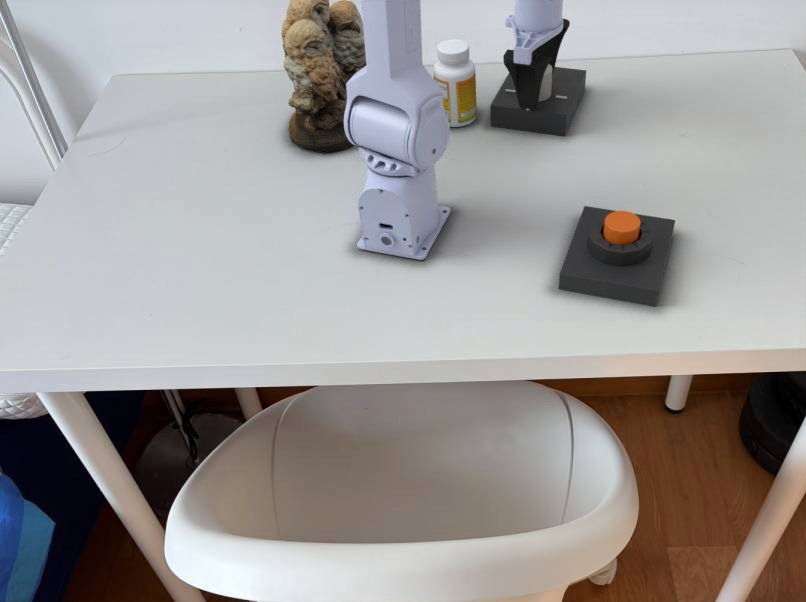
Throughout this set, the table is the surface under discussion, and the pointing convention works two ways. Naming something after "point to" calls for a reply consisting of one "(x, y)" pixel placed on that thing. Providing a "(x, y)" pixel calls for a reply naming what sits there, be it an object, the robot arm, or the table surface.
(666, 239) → the housing
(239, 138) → the table surface
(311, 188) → the table surface
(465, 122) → the supplement bottle
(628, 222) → the button
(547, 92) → the timer dial
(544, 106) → the timer panel
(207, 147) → the table surface
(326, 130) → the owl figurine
